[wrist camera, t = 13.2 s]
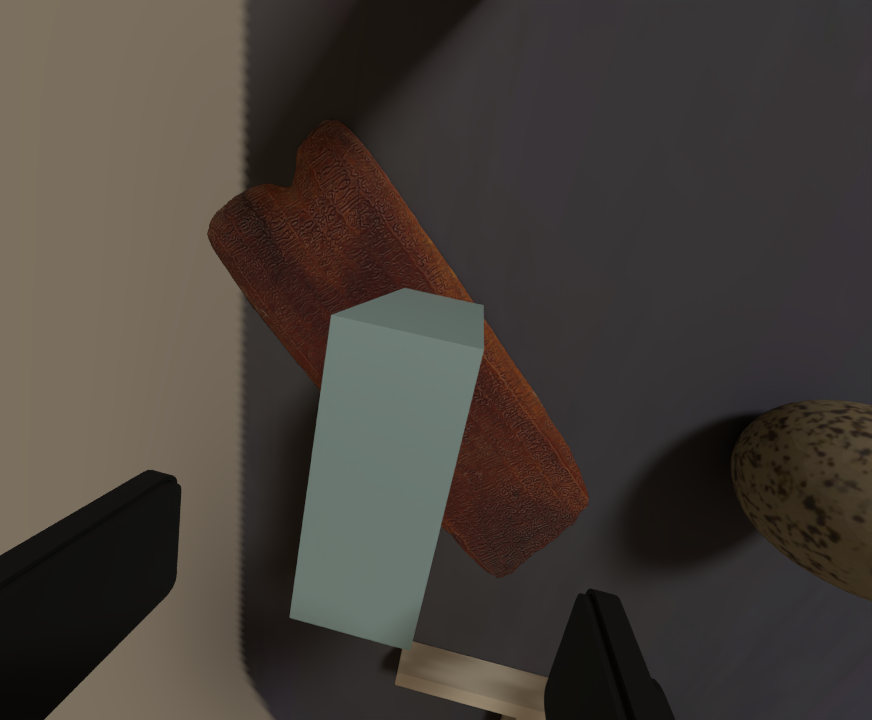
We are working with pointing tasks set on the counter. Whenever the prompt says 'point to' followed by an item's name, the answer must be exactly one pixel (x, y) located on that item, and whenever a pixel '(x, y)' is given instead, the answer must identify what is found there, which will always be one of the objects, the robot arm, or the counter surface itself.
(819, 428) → the decorative egg
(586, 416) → the counter surface
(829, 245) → the counter surface
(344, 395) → the tall board
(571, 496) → the wooden tablet
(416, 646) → the rack
